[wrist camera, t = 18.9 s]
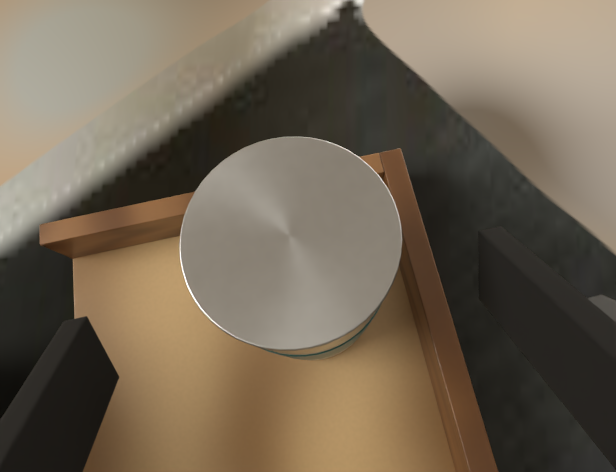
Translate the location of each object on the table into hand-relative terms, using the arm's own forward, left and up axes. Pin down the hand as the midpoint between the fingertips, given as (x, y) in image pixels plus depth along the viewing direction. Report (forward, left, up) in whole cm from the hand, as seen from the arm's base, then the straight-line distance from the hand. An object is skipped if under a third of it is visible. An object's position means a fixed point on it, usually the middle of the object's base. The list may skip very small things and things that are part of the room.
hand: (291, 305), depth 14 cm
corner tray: (-3, -1, -10) cm, 11 cm away
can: (0, +2, -10) cm, 10 cm away
